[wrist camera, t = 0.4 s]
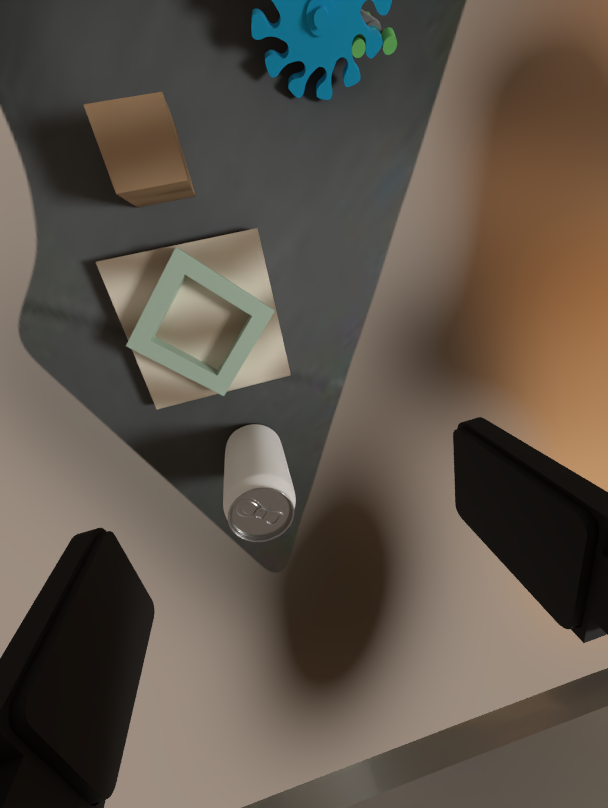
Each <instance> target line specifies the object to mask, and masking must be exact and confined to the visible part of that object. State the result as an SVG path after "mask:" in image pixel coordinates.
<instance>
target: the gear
mask: <svg viewBox="0 0 608 808" xmlns="http://www.w3.org/2000/svg"><path fill="white" fill-rule="evenodd" d="M365 1H366V0H272V2H273V3H274V5H275V6H276V8H277V10H278V11H279V13H280V18H279V20H278V22H276V23H270V22H269V21H268V19H267V18H266V16H265V14H264V13H263V12H262V11H261V10H260V9H253V11H252V17H251V30H252V37H253V38H254V39H256V40H261V39H263V38H265V37H269V36H273V37H277V38H279V39H281V40H283V41H285V42H286V43H287V45H288V49H287V51H286V52H285V53H283V54H282V53H279V52H277V51H275V50H269V51H267V52H266V53H265V63H266V67H267V70H268V72H269V74H270V76H271V77H276V76H277V75H278V74H279V73H280V71H281V70H282V69H283V67H285V66H286V65H287V64H289V63H292V62H296V61H301V62H303V63H304V65H305V67H304V69H303V71H301V72H299V73H294V74H292V75H291V76H290V77H289V80H288V88H289V90H290V91H291V93H292V94H293V95H295V96H296V97H297V98H300V97H301V96H302V95H303V94H304V89H305V85H306V82H307V80H308V78H309V76H310V75H311V74H312V73H313V72H314V71H315V70H316V69H317V68H318V67H323V68H325V70H326V72H325V74H324V76H323V77H322V78H321V79H319V81H318V82H317V84H316V94H317V97H318V98H320V99H324V100H330V99H331V97H332V85H331V77H332V72H333V69H334V66H335V63H336V61H337V60H338V59H339V58H341V57H344V58H346V59H347V63H346V65H345V68H344V70H343V79H344V84H345V86H346V87H350V86H353V85H354V84H356V83H358V82H359V81H360V72H359V68H358V66H357V64H356V63H355V62H354V60H353V57H352V54H353V56H354V57H356V58H360V57H361V56H362V55H363V54H364V52H365V51H366V54H367V56H368V57H369V58H371V59H372V58H373V57H374V56H375V55H376V54H377V53H378V51H379V50H380V48H381V46H382V48H383V51H384V53H385V54H387V55H390V54H392V53H393V52H394V51H395V49H396V47H397V40H396V37H395V34H394V31H393V29H392V28H390V27H388V28H386V29H384V30H383V32H382V29H381V26H380V23H379V21H378V20H377V19H376V18H374V17H373V16H371V15H370V13H369V12H365V11H363V10H362V9H361V7H362V5H363V3H364V2H365ZM372 1H373V2H374V4H375V7H376V9H377V11H378V13H379V14H381V15H386V14H387V13H388V11H389V9H390V6H391V3H392V0H372Z"/></svg>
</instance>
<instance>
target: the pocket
mask: <svg viewBox="0 0 608 808" xmlns="http://www.w3.org/2000/svg"><path fill="white" fill-rule="evenodd" d="M186 276H188V277H190V278H191V279H193V280H195V281H196V282H198V283H199V284H201V285H203V286H204V287H206V288H208V289H209V290H211V291H212V292H214V293H216V294H217V295H219V296H220V297H222V298H224V299H225V300H227V301H228V302H230V303H232V304H233V305H235V306H236V307H238V308H240V309H241V310H243V311H244V312H246V313H248V314H249V315H250V316H249V318H248V320H247V322H246V323H245V325H244V327H243V328H242V330H241V332H240V334H239V335H238V337H237V339H236V340H235V342H234V344H233V346H232V347H231V349H230V351H229V352H228V354H227V356H226V358H225V359H224V361H223V363H222V364H221V366H220V368H219V370H217V369H215V368H213V367H211V366H210V365H208V364H206V363H204V362H202V361H200V360H198V359H197V358H195V357H193V356H191V355H189V354H187V353H185V352H184V351H182V350H180V349H178V348H176V347H174V346H172V345H170V344H169V343H167V342H165V341H163V340H161V339H159V338H157V337H156V336H155V335H156V333H157V331H158V329H159V327H160V325H161V324H162V322H163V320H164V318H165V316H166V314H167V312H168V310H169V308H170V306H171V304H172V303H173V301H174V299H175V297H176V295H177V293H178V291H179V289H180V287H181V285H182V283H183V282H184V280H185V278H186ZM274 312H275V311H274V310H273V309H272V308H271V307H269V306H268V305H266V304H265V303H263V302H262V301H260V300H259V299H257V298H255V297H254V296H252V295H251V294H249V293H248V292H246V291H245V290H243V289H242V288H240V287H239V286H237V285H235V284H234V283H232V282H231V281H229V280H228V279H226V278H225V277H223V276H222V275H220V274H218V273H217V272H215V271H214V270H212V269H211V268H209V267H208V266H206V265H205V264H203V263H201V262H200V261H198V260H197V259H195V258H194V257H192V256H191V255H189V254H188V253H186V252H184V251H183V250H181V249H180V248H177V247H176V248H175V250H174V252H173V254H172V256H171V258H170V260H169V262H168V263H167V265H166V267H165V269H164V271H163V273H162V275H161V277H160V279H159V281H158V283H157V285H156V287H155V289H154V291H153V293H152V295H151V297H150V299H149V301H148V303H147V305H146V307H145V309H144V311H143V313H142V315H141V317H140V319H139V321H138V323H137V325H136V327H135V329H134V331H133V333H132V335H131V337H130V339H129V341H128V343H127V345H126V346H127V347H129V348H130V349H132V350H134V351H136V352H138V353H140V354H142V355H144V356H146V357H148V358H150V359H152V360H154V361H156V362H158V363H160V364H162V365H164V366H166V367H168V368H170V369H172V370H174V371H176V372H178V373H179V374H181V375H183V376H185V377H187V378H189V379H191V380H193V381H195V382H197V383H199V384H201V385H203V386H205V387H207V388H209V389H211V390H213V391H215V392H217V393H219V394H221V395H223V396H224V395H225V393H226V392H227V390H228V388H229V387H230V385H231V383H232V382H233V380H234V378H235V377H236V375H237V373H238V372H239V370H240V368H241V367H242V365H243V363H244V362H245V360H246V358H247V357H248V355H249V353H250V352H251V350H252V348H253V347H254V345H255V343H256V342H257V340H258V338H259V337H260V335H261V333H262V332H263V330H264V328H265V327H266V325H267V323H268V322H269V320H270V318H271V317H272V315H273V313H274Z"/></svg>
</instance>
